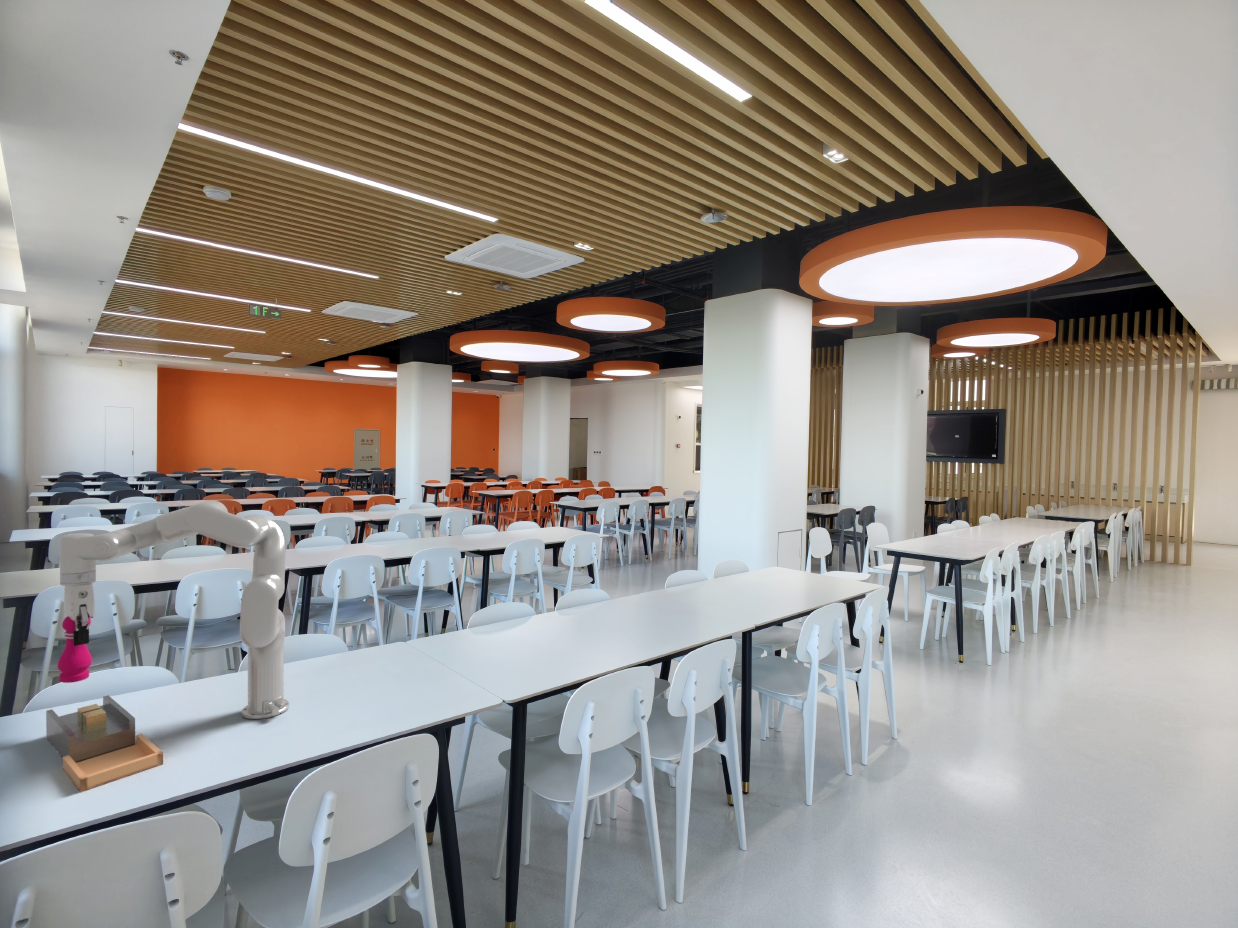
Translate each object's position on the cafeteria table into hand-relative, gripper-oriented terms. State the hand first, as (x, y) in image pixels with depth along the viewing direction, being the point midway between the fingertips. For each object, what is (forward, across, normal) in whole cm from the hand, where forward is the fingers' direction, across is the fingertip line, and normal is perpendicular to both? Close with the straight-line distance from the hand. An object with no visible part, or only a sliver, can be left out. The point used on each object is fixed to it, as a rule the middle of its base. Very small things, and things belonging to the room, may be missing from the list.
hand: (78, 641), depth 171 cm
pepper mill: (+11, +1, +1) cm, 11 cm away
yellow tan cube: (+20, -10, 0) cm, 23 cm away
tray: (+25, -31, 0) cm, 40 cm away
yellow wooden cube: (+20, -15, 0) cm, 25 cm away
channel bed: (+25, -11, 0) cm, 27 cm away
